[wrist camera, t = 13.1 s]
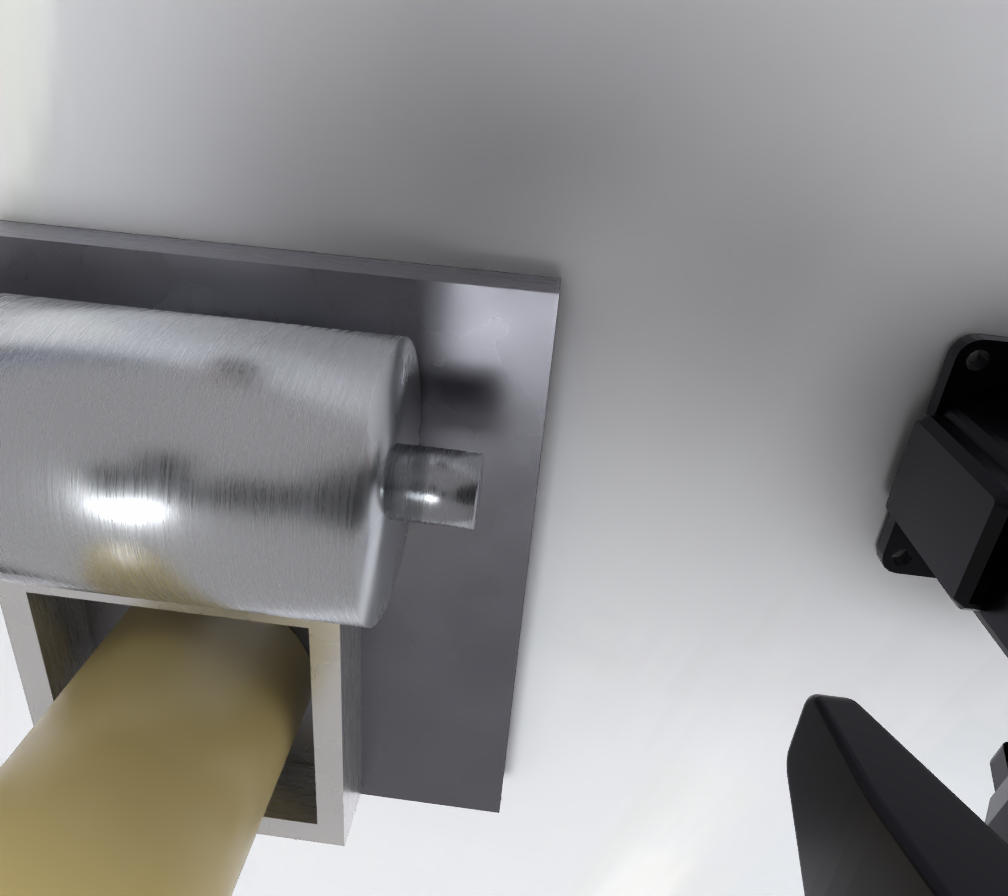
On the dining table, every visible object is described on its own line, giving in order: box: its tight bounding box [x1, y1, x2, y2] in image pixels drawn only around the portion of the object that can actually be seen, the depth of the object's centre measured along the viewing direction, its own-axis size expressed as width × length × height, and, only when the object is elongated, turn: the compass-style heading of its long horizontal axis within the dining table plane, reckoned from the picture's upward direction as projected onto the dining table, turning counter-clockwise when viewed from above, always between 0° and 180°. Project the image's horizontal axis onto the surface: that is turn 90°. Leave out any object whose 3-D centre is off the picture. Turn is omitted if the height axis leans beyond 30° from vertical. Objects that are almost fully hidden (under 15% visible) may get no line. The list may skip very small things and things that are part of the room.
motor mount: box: [0, 220, 561, 846], centre depth 19 cm, size 14×17×8 cm
